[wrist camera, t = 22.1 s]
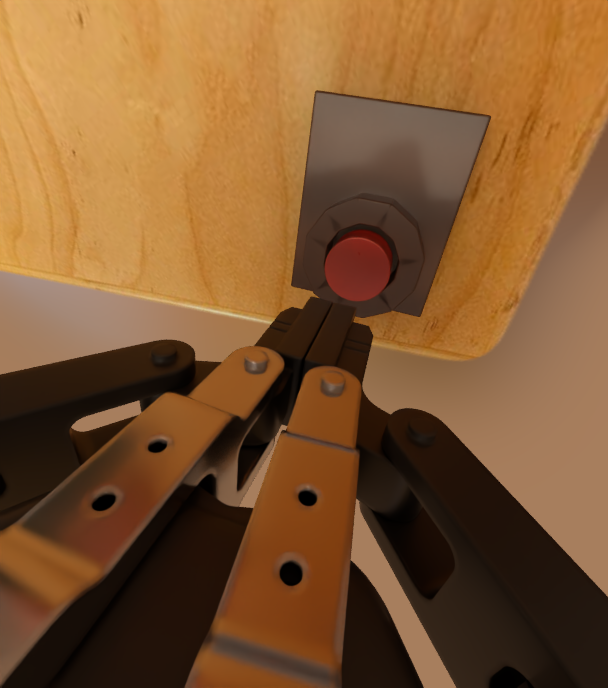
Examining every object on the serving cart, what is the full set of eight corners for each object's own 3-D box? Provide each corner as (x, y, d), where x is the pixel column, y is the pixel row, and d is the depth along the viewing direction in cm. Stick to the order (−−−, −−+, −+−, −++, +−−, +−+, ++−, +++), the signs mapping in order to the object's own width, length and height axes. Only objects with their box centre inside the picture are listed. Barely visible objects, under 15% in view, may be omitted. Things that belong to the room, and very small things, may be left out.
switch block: (419, 303, 22) (420, 332, 19) (300, 275, 24) (281, 298, 20) (484, 117, 17) (500, 113, 14) (325, 94, 18) (304, 84, 15)
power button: (383, 295, 19) (380, 308, 18) (326, 281, 20) (319, 293, 18) (400, 236, 17) (398, 245, 16) (337, 223, 18) (330, 230, 16)
